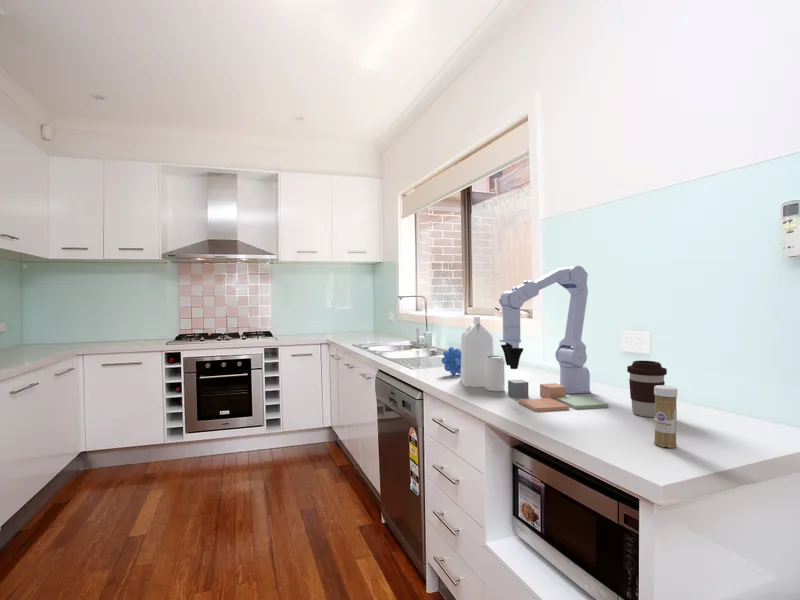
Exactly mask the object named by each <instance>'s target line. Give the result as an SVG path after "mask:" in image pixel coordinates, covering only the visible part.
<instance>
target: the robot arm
mask: <svg viewBox="0 0 800 600" xmlns="http://www.w3.org/2000/svg"><path fill="white" fill-rule="evenodd" d="M588 276H589V275H588V272H587V271H586V269H585V268H584V267H583V266H581V265H574V266H565V267H564V266H560V267H558V268H556V269H553V270H552V271H550V272H548V273H547V274H545V275H543V276H542V277H540V278H538V279H537V280H535V281H533V280H524V281H522V284H519V285H518V286H513V287H512V288H511V290H505V291H504V292H502V293H501V295H500V298H499V299H498V303H499V305H500V306H501V309H502V310H501V311H502V338H501V339H499V343H505V344H500V347H501V349H502V352H503V355H504V359H505V360H504V361H505V363H506V364H505V365H506V366H509V367H510V369H511V370H518V367H519V363H520V359H521V356H522V354H523V352H524V348H523V347H520V343H522V339H521V308H522V307H523V305H524V303H525V302H527V301H530V300H531V299H533V298H535V297H536V296H538V295H539V293H540V291H541V290H542V289H545V288H547V287H549V286H552V285H554V284H555V283H557V284H558V285H559V286H561V287H562V288H564V289H565V290H567V292H568V293H569V294H570V298H569V305H568V312H567V318H566V327H565V332H564V338H562V339H561V340H560V341H559V343H558V347H557V348H556V350H555V354H554V355H555V360H556V361H557V362H558V365H559V377H560V378H559V384H560V385H562V386H565V387H566V395H567V394H568V395H571V394H585V393H586V394H589V393H592V390H591V386H590V385H591V384H590V383H591V382H590V380H591V378H590V377H591V374H590V370H589V368H588V367H587V366H585V364H586V362H587V360H588V359H587V358H588V355H587V352H586V351H587V350H586V349H587V345H585V343H584V342H583V341H582V336H583V329H584V320H585V314H586V310H587V309H586V308H587V301H588V300H587V299H588V293H589V288H588V284H587V282H588Z"/></svg>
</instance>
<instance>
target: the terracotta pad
mask: <svg viewBox="0 0 800 600" xmlns="http://www.w3.org/2000/svg"><path fill="white" fill-rule="evenodd" d="M517 402H518V404H519V405H521V406H524V407H525V408H527V409H529V410H531V411H533V412H535V413H537V412H551V411H565V410H566V411H568V410H570V407H569V406H568V405H565V404H563V403H561V402H558V401H556V400H554V399H551V398H544V397H541V398H528V399H527V398H526V399H518V401H517Z"/></svg>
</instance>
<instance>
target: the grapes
mask: <svg viewBox="0 0 800 600" xmlns="http://www.w3.org/2000/svg"><path fill="white" fill-rule="evenodd" d="M442 355H443V357H442V359H441V363H442V364H443V366H444V368H443V369H444V370H445V371H446V372H449V373H450V374H451V375H452V376H455V375H457V374H458V375H461V349H460V348H456V349H455V348H454V347H452V346H450V347H448V350H444V351H443V353H442Z"/></svg>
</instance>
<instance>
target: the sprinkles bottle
mask: <svg viewBox="0 0 800 600" xmlns="http://www.w3.org/2000/svg"><path fill="white" fill-rule="evenodd" d="M654 394H655V416H654V417H653V419H654V421H653V422H654V425H653V426H654V429H653V430H654V440H653V443H654V445H655V444H656V445H655V446H657V445H658V446H657V447H660V446H661V448H664V447H668V448H667V449H675V448H677V446H678V445H677V428H678V427H677V426H678V425H677V417H678V416H677V415H678V414H677V409H678V408H677V398H678V388H677V386H676V387H675V386H672V385H666V384H664V385H657V386H655V387H654ZM674 447H675V448H674Z"/></svg>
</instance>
